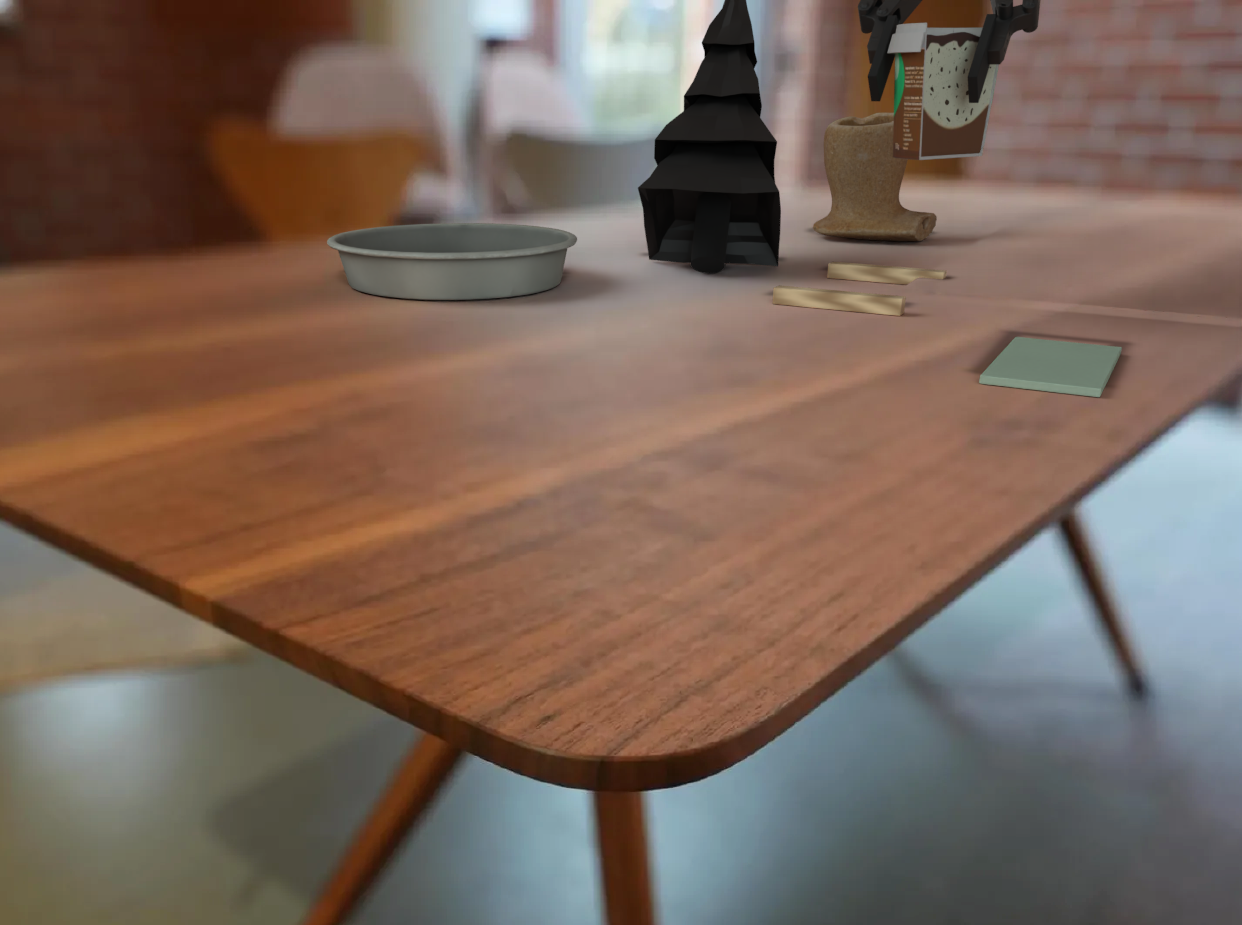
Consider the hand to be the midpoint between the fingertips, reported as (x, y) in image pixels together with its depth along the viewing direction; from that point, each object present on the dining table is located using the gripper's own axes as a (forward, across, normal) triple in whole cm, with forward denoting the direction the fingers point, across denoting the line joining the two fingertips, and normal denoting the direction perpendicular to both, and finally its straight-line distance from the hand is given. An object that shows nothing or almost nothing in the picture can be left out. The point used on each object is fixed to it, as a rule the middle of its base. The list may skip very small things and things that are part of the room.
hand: (922, 89), depth 95 cm
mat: (+23, -15, -3) cm, 28 cm away
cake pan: (+16, +44, -10) cm, 48 cm away
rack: (+6, +6, -20) cm, 22 cm away
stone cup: (-22, +16, -48) cm, 56 cm away
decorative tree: (-2, +26, -28) cm, 38 cm away
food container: (+1, 0, -6) cm, 7 cm away
